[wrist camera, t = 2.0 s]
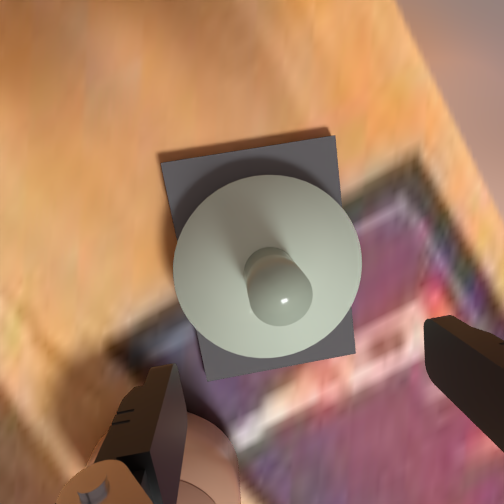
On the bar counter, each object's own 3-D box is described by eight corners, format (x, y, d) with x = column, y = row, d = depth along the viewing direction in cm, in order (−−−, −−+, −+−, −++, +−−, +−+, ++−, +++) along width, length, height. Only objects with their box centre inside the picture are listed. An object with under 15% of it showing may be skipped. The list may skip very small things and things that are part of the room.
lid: (157, 191, 19) (135, 198, 14) (345, 160, 20) (387, 156, 15) (195, 362, 22) (187, 419, 17) (361, 331, 23) (400, 377, 18)
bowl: (76, 414, 23) (35, 483, 18) (224, 386, 23) (225, 445, 18) (114, 530, 25) (87, 619, 20) (248, 502, 26) (254, 583, 21)
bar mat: (162, 163, 20) (160, 163, 19) (331, 136, 20) (335, 135, 20) (207, 376, 23) (207, 381, 22) (352, 348, 24) (355, 353, 23)
